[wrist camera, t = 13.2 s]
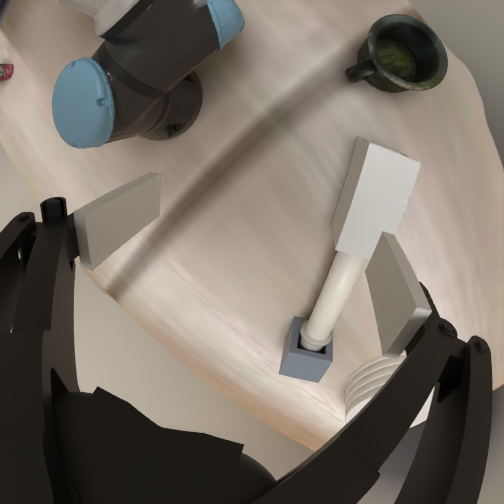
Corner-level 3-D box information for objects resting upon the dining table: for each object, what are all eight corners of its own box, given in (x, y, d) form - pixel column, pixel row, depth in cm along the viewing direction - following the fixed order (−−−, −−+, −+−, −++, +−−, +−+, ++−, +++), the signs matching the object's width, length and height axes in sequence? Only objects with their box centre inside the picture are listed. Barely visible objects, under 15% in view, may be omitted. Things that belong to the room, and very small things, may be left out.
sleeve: (357, 136, 39) (369, 142, 30) (399, 152, 38) (421, 163, 29) (331, 223, 47) (335, 249, 38) (371, 235, 46) (382, 263, 38)
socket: (294, 316, 59) (289, 351, 50) (332, 325, 58) (332, 361, 49) (284, 339, 63) (278, 373, 54) (320, 348, 62) (318, 382, 53)
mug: (428, 83, 31) (461, 78, 21) (358, 112, 37) (374, 111, 27) (395, 28, 27) (419, 6, 17) (324, 56, 33) (327, 36, 23)
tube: (343, 208, 42) (347, 224, 37) (379, 220, 42) (387, 237, 36) (292, 340, 59) (288, 363, 53) (319, 347, 58) (318, 369, 53)
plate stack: (379, 412, 73) (380, 440, 63) (325, 384, 69) (323, 418, 59) (449, 373, 59) (457, 402, 49) (407, 334, 55) (417, 371, 45)
